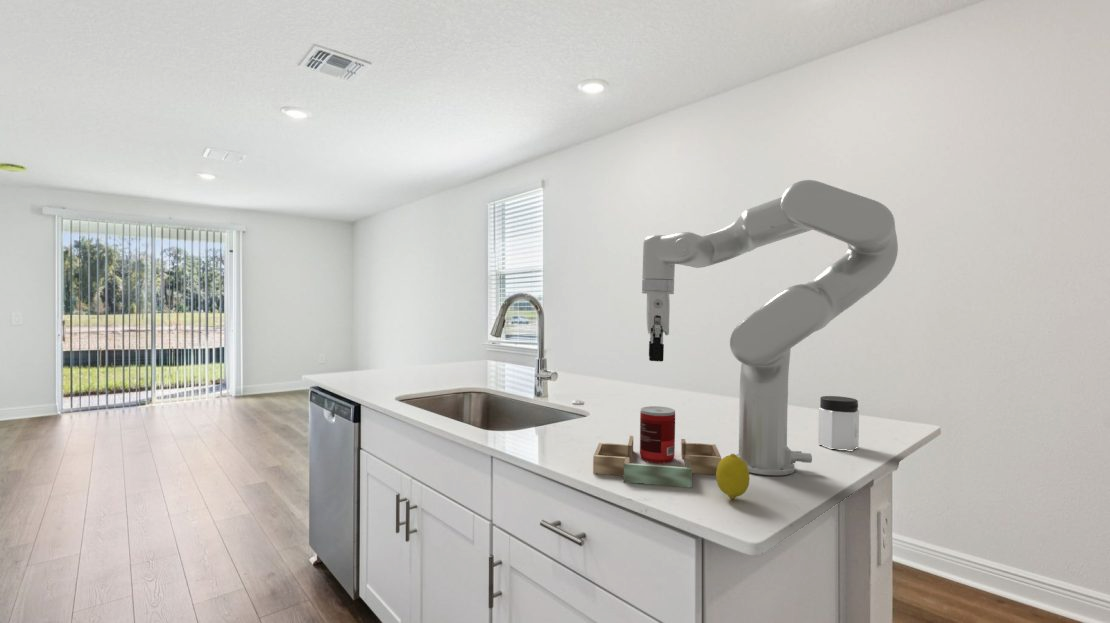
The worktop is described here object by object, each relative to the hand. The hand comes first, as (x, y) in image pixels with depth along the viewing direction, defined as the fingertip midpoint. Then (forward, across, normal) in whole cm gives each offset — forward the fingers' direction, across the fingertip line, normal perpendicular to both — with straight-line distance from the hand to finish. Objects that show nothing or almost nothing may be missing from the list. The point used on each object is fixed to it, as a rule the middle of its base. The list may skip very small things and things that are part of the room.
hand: (655, 358), depth 122 cm
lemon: (+21, -31, -13) cm, 40 cm away
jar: (+21, +12, -45) cm, 51 cm away
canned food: (+22, -9, -1) cm, 23 cm away
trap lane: (+21, -15, -1) cm, 26 cm away
